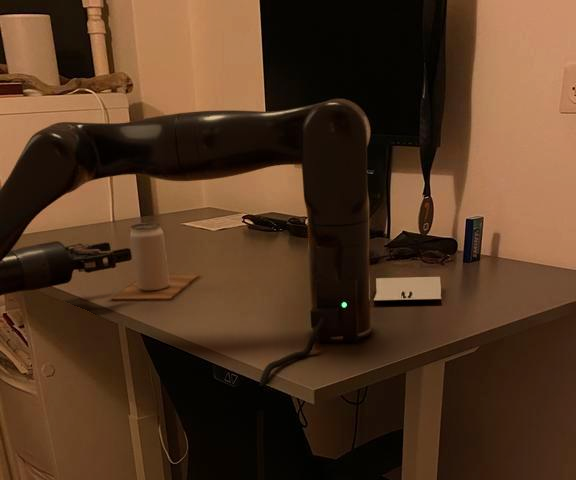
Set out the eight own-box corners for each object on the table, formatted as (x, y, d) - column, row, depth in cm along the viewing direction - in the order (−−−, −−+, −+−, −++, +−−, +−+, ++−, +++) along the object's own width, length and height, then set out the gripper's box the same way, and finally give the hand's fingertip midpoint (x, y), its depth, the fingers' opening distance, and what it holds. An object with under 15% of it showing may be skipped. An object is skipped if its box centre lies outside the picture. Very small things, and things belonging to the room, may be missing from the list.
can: (134, 287, 161) (124, 225, 155) (165, 281, 163) (156, 220, 157) (143, 293, 155) (133, 229, 149) (174, 288, 158) (166, 225, 152)
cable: (279, 269, 168) (279, 262, 167) (379, 247, 181) (379, 240, 180) (318, 279, 158) (318, 272, 157) (421, 255, 171) (421, 248, 171)
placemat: (170, 300, 151) (170, 298, 151) (111, 300, 154) (111, 298, 154) (198, 277, 167) (197, 275, 166) (144, 277, 169) (144, 275, 169)
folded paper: (373, 306, 139) (373, 295, 138) (376, 289, 149) (375, 278, 148) (442, 305, 137) (443, 293, 136) (440, 287, 147) (441, 276, 146)
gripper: (51, 250, 137) (134, 234, 145) (20, 240, 147) (99, 226, 155) (60, 293, 140) (140, 276, 149) (29, 281, 150) (106, 265, 159)
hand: (119, 250), depth 152 cm, fingers open, 8 cm apart
